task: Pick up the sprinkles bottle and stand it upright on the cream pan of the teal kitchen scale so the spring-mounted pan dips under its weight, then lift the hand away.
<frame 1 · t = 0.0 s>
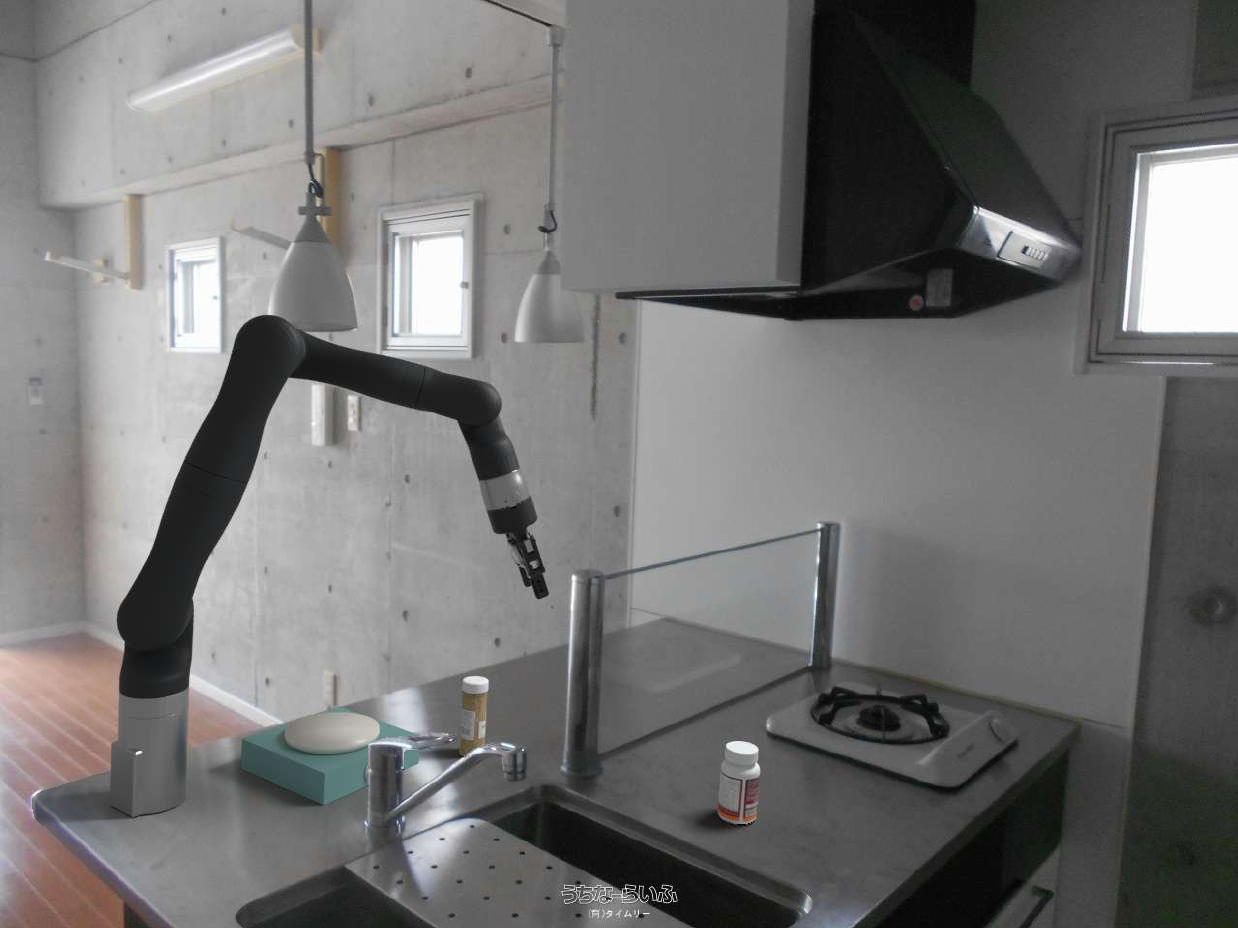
hand: (536, 591, 150), 31 cm above the worktop, fingers open, 8 cm apart
scale: (331, 765, 150), on the worktop
sprinkles bottle: (471, 754, 159), on the worktop
pill bottle: (736, 817, 142), on the worktop
scale pan: (332, 732, 150), point 6 cm above the worktop, slide at -0.8 cm
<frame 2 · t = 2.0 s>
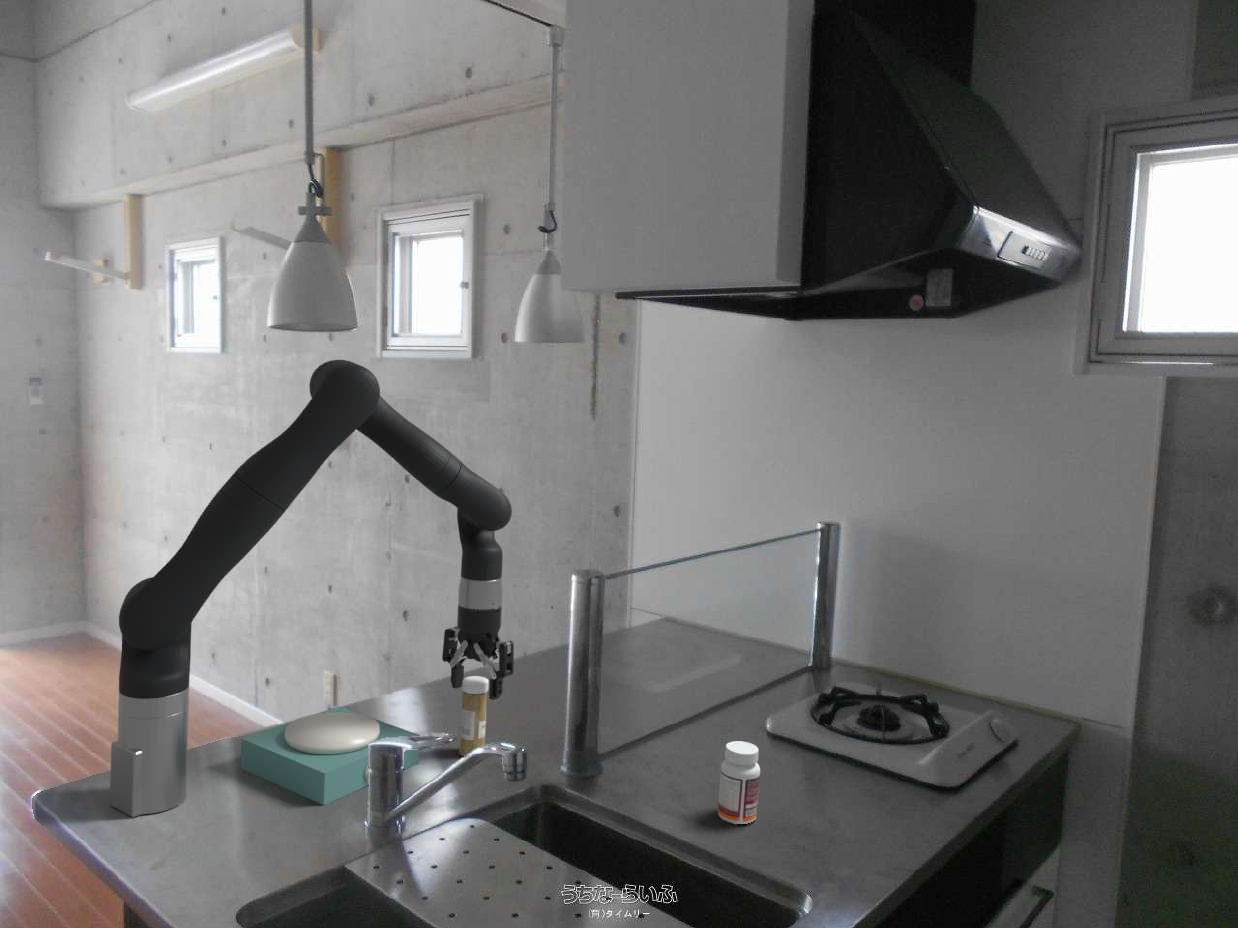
hand: (475, 692, 158), 11 cm above the worktop, fingers open, 8 cm apart
nothing on the worktop moved.
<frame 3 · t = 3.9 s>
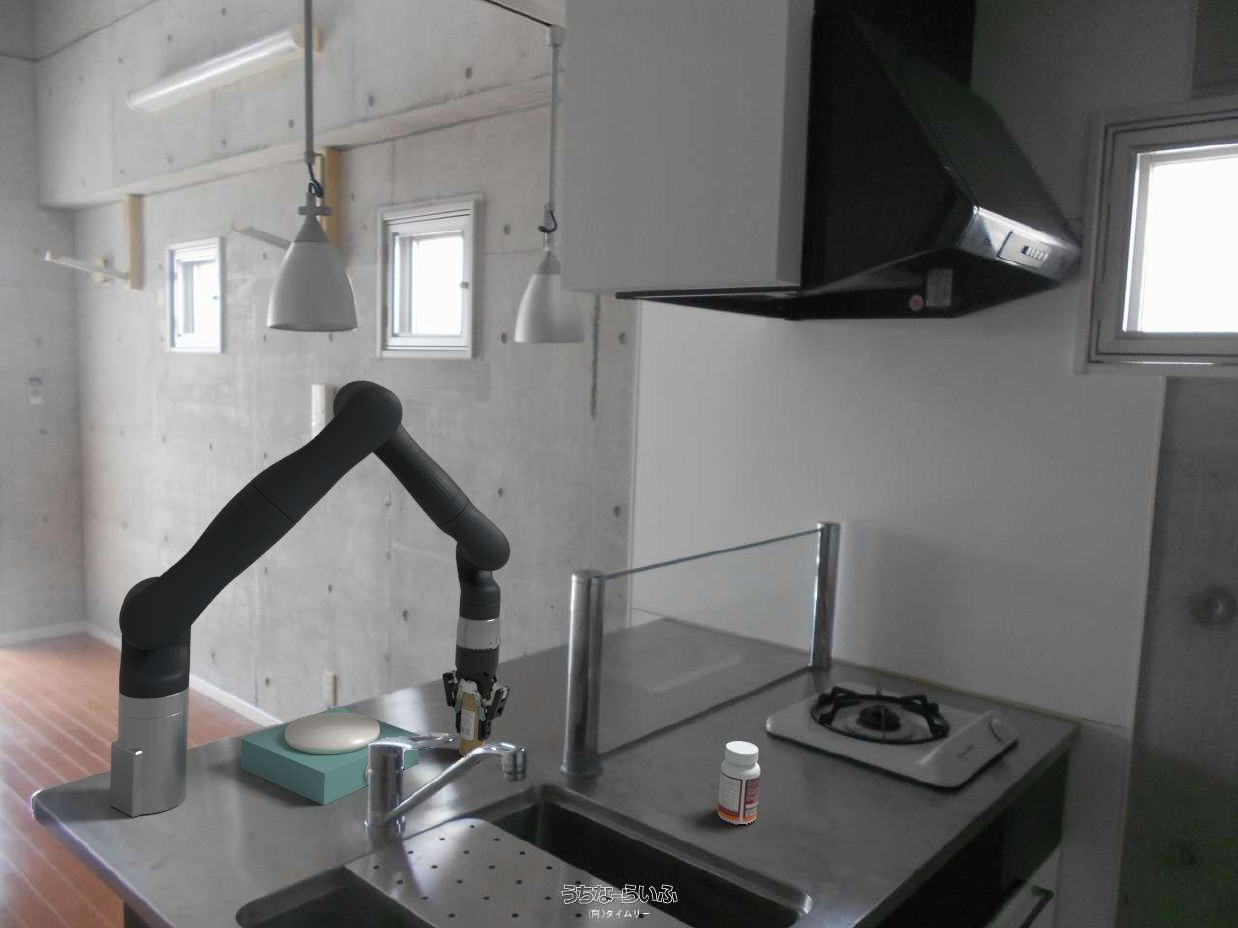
hand: (472, 735, 159), 3 cm above the worktop, fingers closed on sprinkles bottle, 4 cm apart
sprinkles bottle: (471, 754, 159), on the worktop, touching gripper
everything else where it was.
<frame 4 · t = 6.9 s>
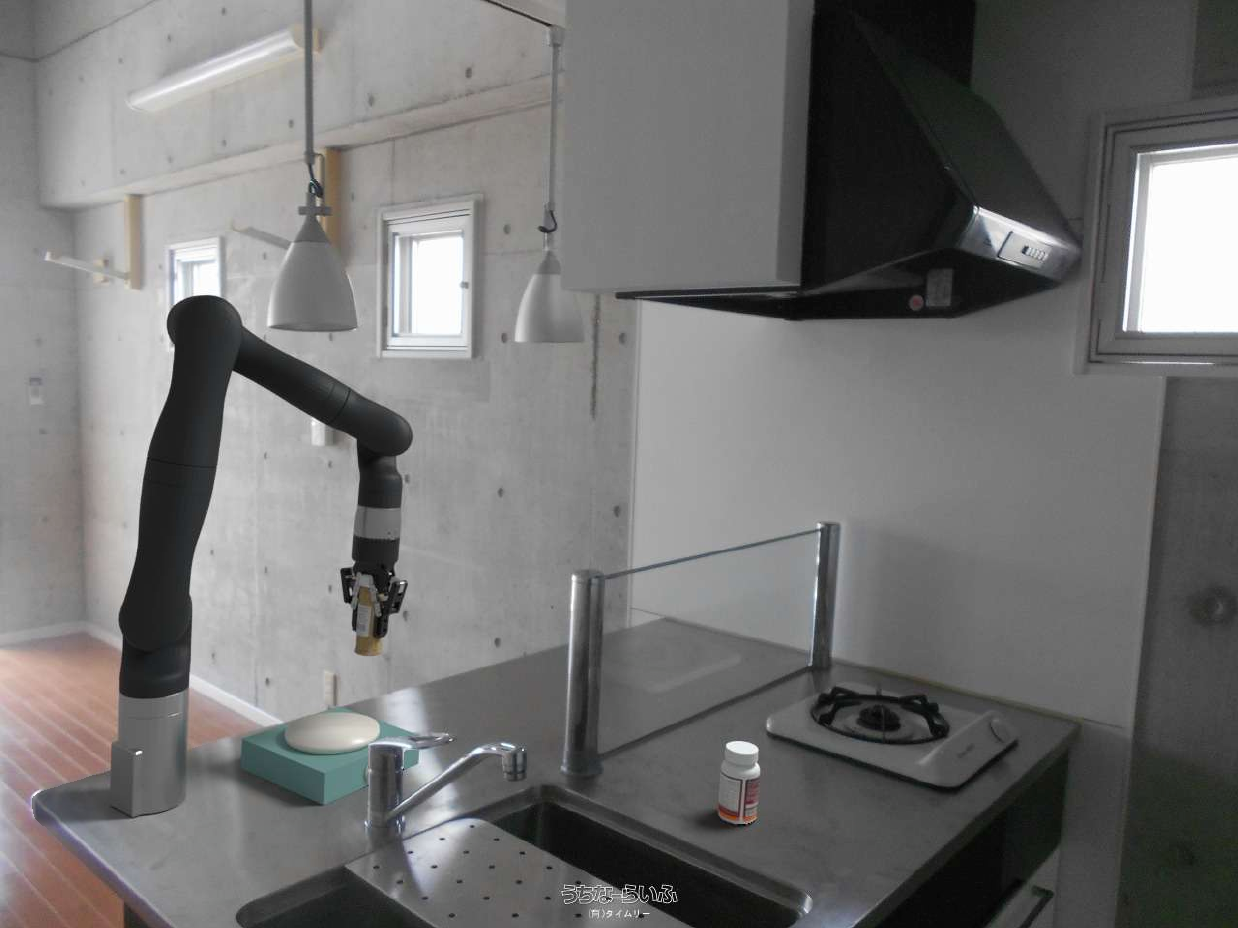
hand: (369, 633, 150), 22 cm above the worktop, fingers closed on sprinkles bottle, 4 cm apart
sprinkles bottle: (367, 654, 151), point 19 cm above the worktop, touching gripper
everything else where it was.
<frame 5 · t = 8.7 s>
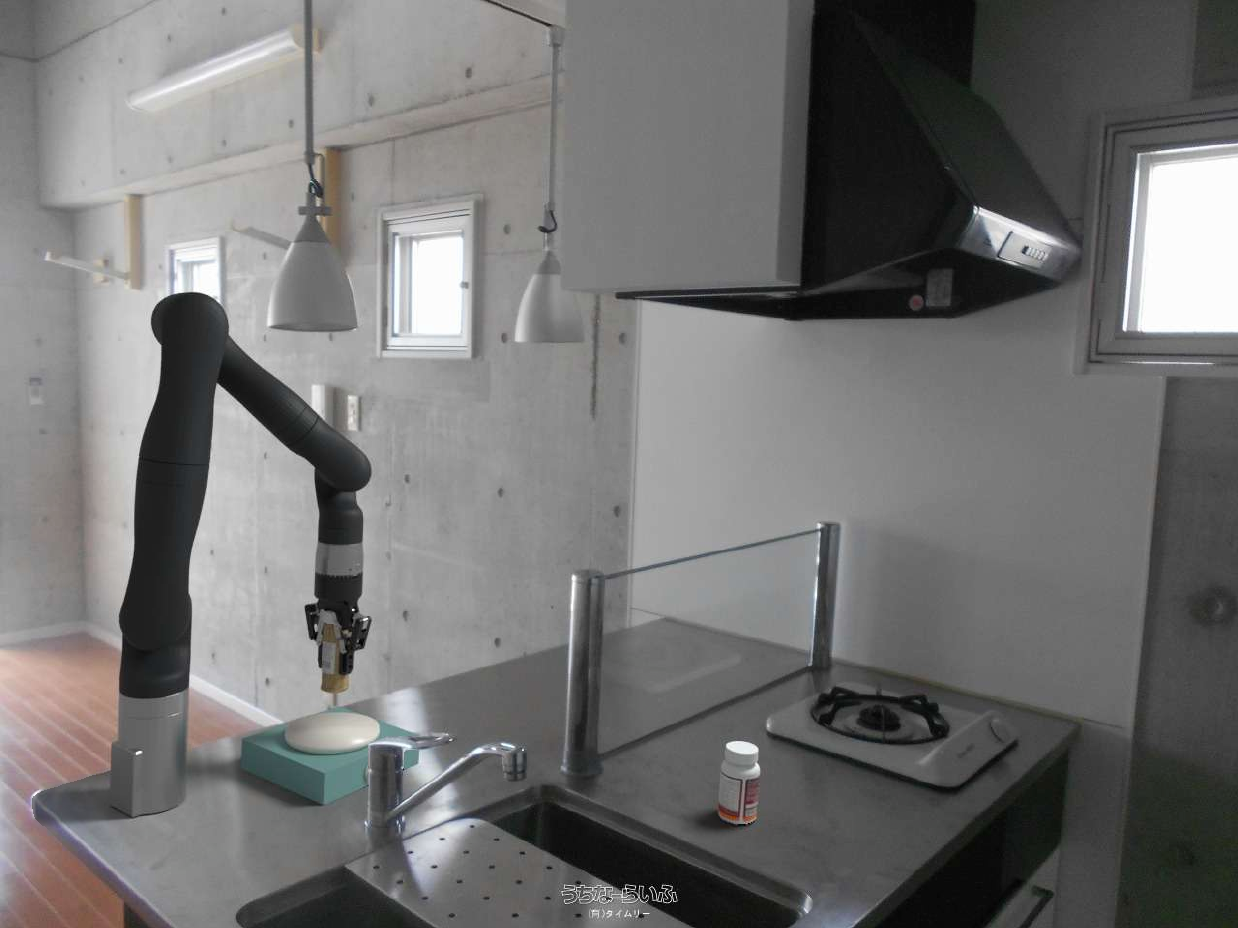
hand: (335, 670, 149), 16 cm above the worktop, fingers closed on sprinkles bottle, 4 cm apart
sprinkles bottle: (334, 690, 149), point 13 cm above the worktop, touching gripper
everything else where it was.
when the fingers open (12 cm above the worktop, at t = 10.3 s): sprinkles bottle drops 3 cm, resting on scale pan.
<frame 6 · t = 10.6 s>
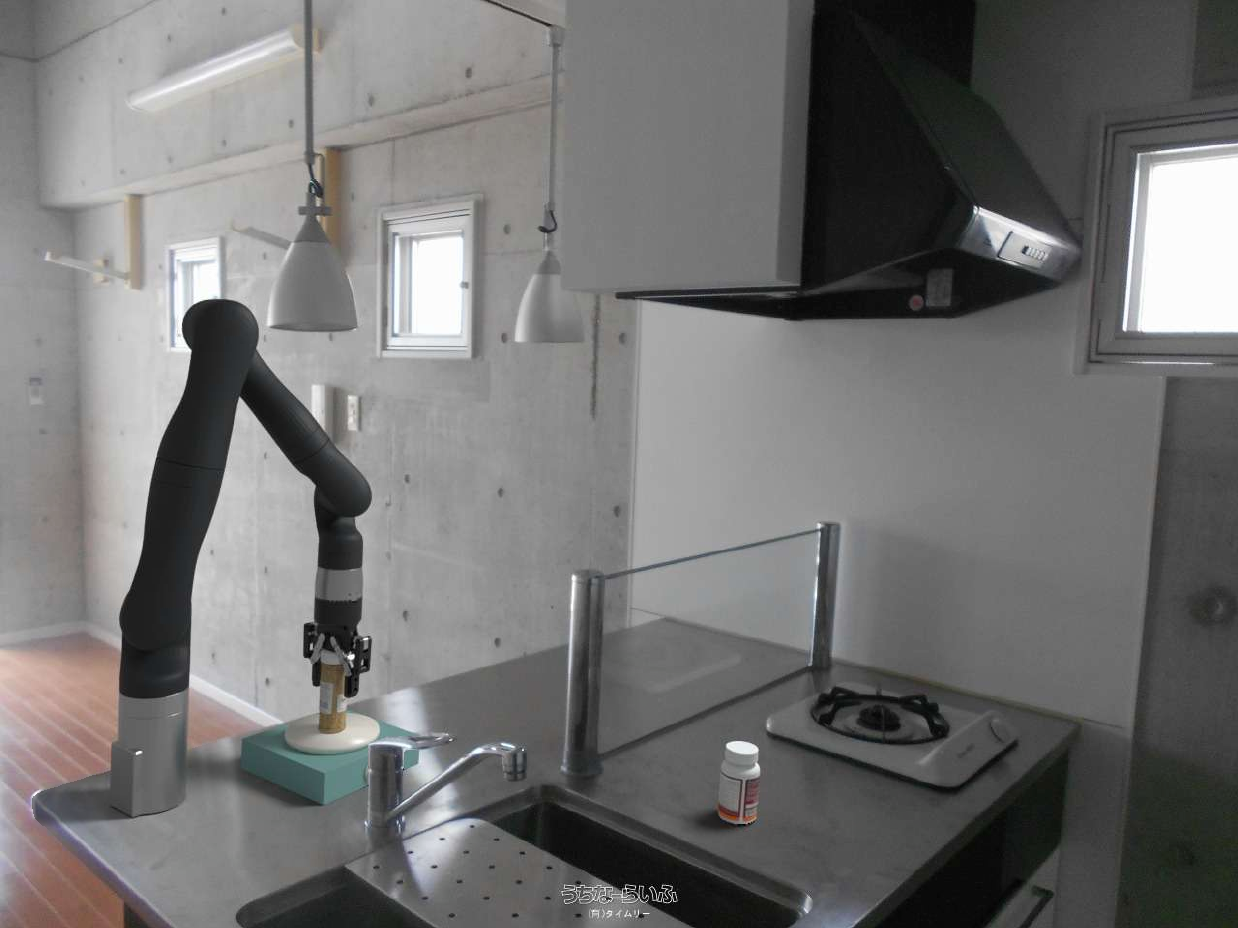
hand: (334, 690, 149), 13 cm above the worktop, fingers open, 7 cm apart
sprinkles bottle: (331, 729, 150), point 6 cm above the worktop, touching scale pan
scale pan: (332, 732, 150), point 6 cm above the worktop, slide at -0.9 cm, touching sprinkles bottle
everything else where it was.
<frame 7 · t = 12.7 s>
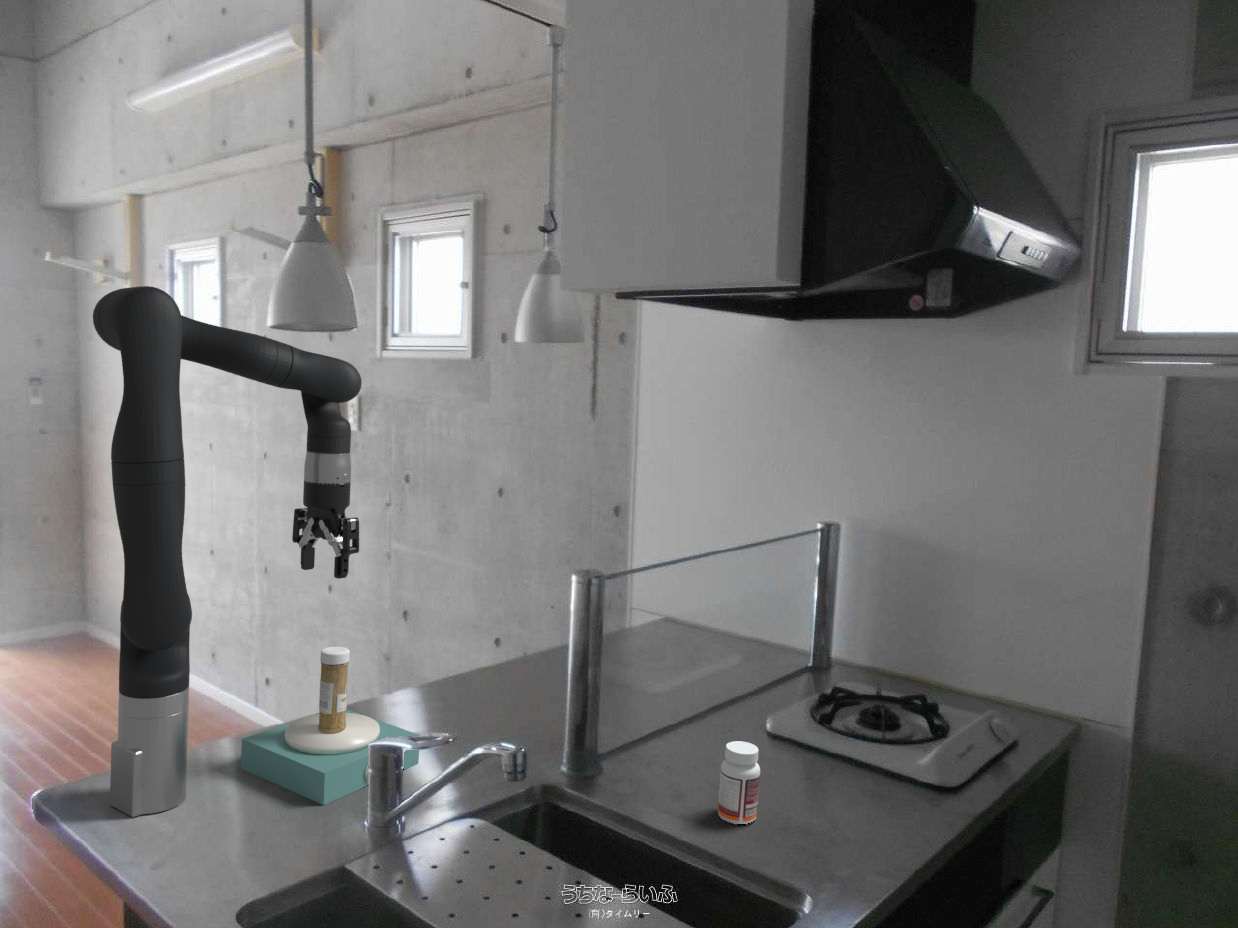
hand: (323, 573, 153), 31 cm above the worktop, fingers open, 8 cm apart
nothing on the worktop moved.
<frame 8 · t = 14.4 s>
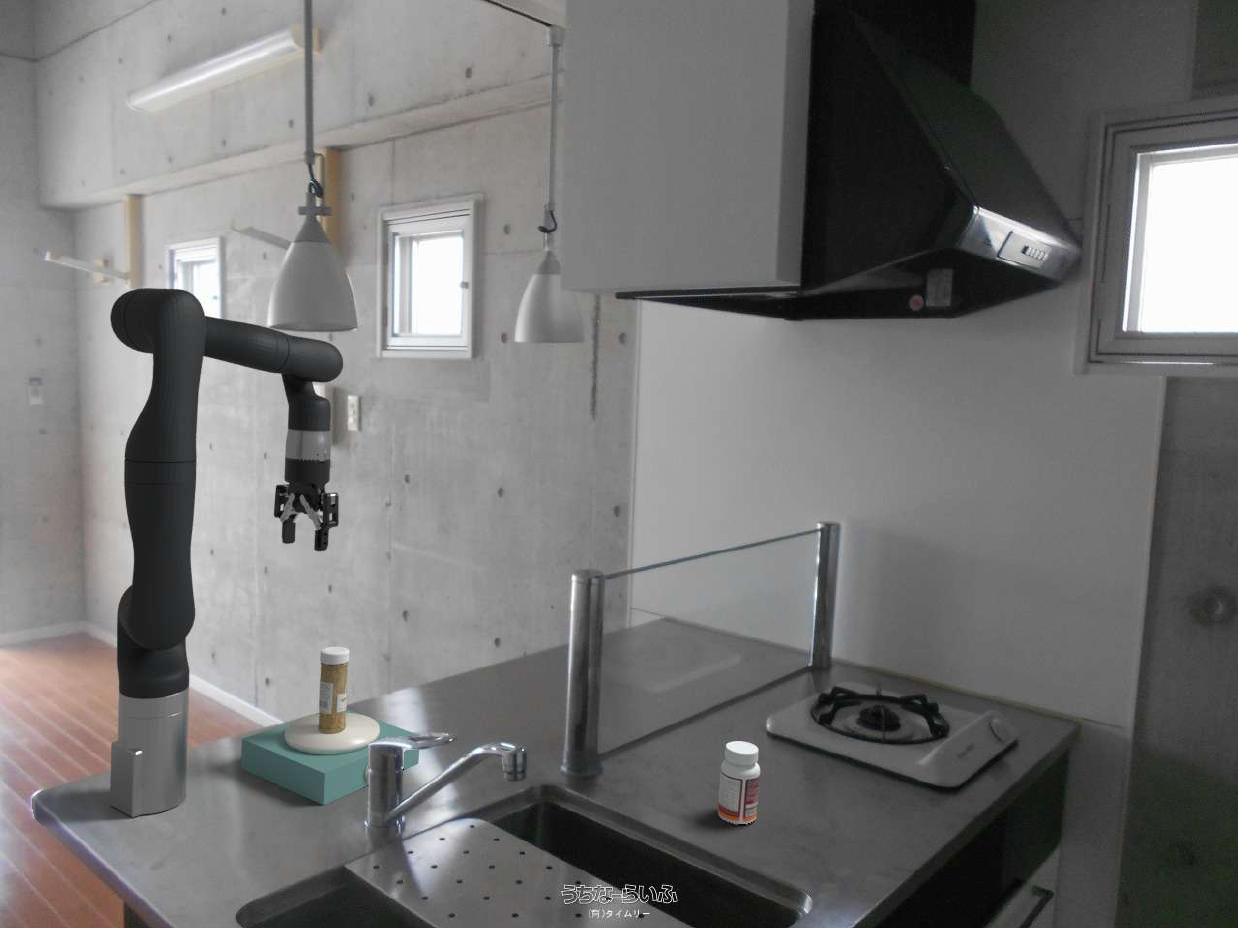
hand: (304, 546, 160), 34 cm above the worktop, fingers open, 8 cm apart
nothing on the worktop moved.
at the end: sprinkles bottle inside the target area on the scale (0.2 cm from its centre), point 6.1 cm above the scale's base; sprinkles bottle tilted 0°; the gripper is holding nothing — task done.
